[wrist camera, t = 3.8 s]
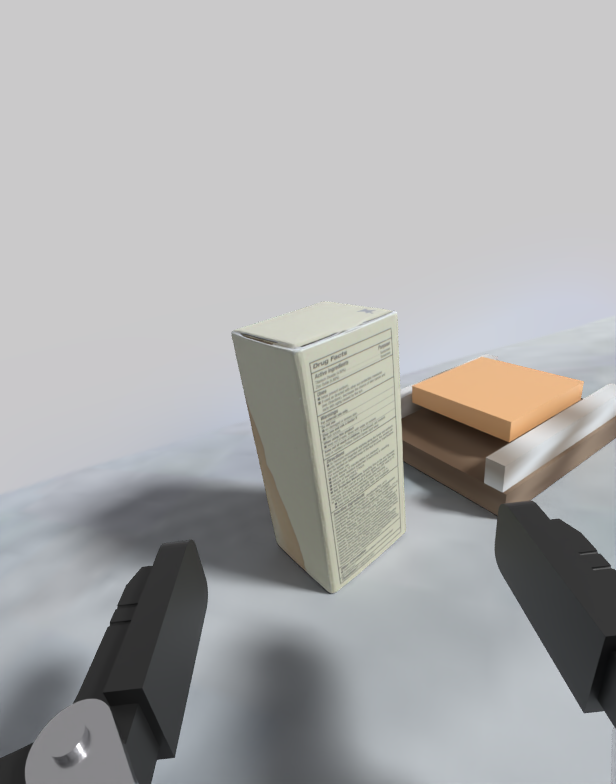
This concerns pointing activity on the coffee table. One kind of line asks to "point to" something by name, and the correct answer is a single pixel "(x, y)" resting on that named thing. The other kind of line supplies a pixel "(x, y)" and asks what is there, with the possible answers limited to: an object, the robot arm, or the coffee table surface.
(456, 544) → the coffee table surface
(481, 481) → the rail board
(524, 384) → the plate
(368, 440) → the box
